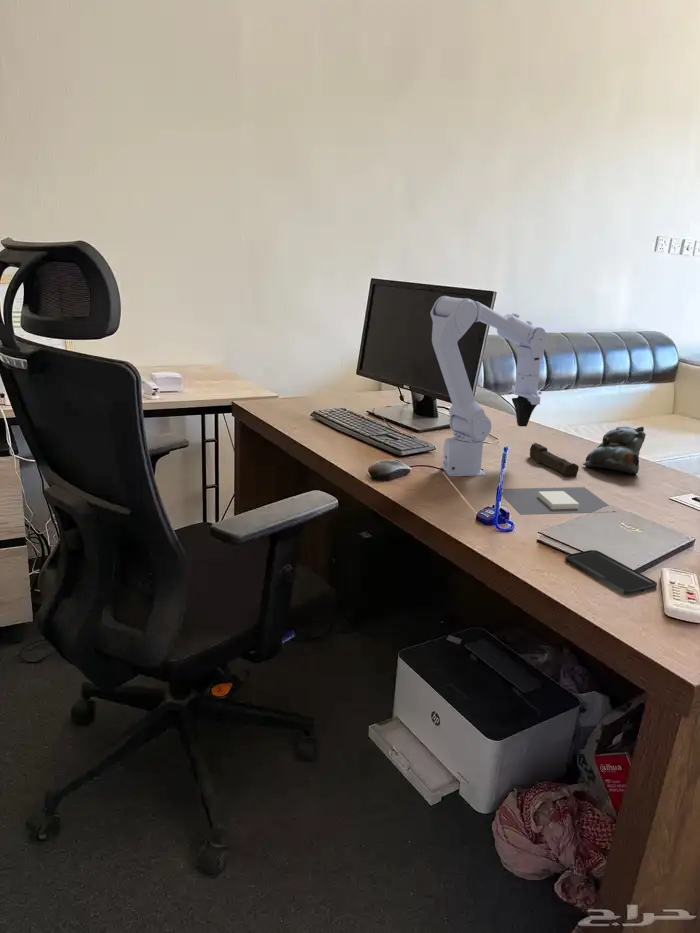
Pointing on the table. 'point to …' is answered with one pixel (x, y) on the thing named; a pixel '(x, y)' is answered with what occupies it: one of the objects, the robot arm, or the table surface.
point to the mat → (532, 504)
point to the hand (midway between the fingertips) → (522, 425)
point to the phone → (611, 572)
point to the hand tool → (553, 461)
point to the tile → (558, 500)
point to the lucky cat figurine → (618, 450)
